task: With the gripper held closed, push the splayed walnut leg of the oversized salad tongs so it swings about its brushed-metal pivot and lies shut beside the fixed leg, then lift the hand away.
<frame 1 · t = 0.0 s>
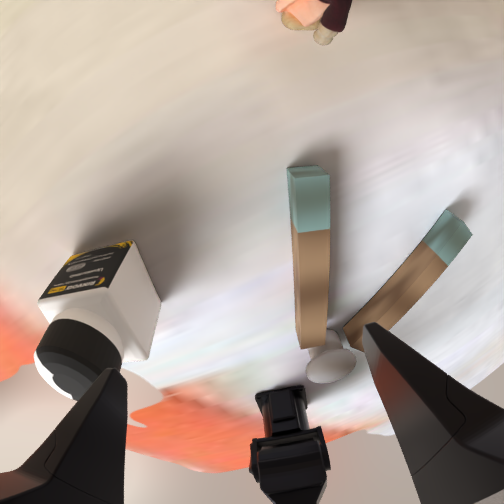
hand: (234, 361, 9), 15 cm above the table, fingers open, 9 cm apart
tong leg: (408, 285, 26), point 1 cm above the table, hinge at 40.0°
grandmother figurine: (300, 12, 15), on the table
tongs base: (322, 340, 30), on the table
medicine bottle: (116, 278, 25), on the table
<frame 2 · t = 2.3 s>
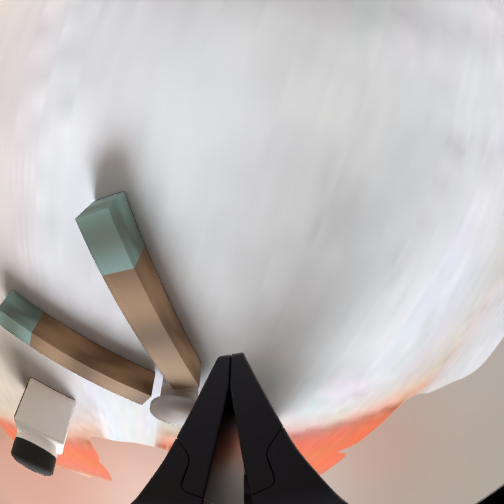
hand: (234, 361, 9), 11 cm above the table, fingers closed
tong leg: (148, 308, 20), point 1 cm above the table, hinge at 40.0°
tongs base: (180, 380, 27), on the table
medicine bottle: (52, 397, 29), on the table
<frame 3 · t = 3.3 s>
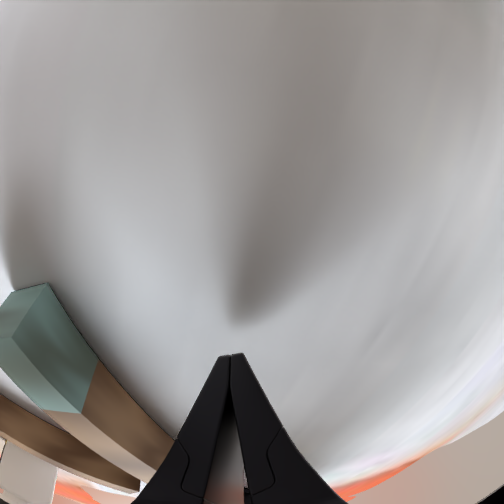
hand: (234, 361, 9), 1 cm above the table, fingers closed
tong leg: (118, 431, 11), point 2 cm above the table, hinge at 40.0°
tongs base: (174, 469, 18), on the table
medicine bottle: (34, 454, 21), on the table
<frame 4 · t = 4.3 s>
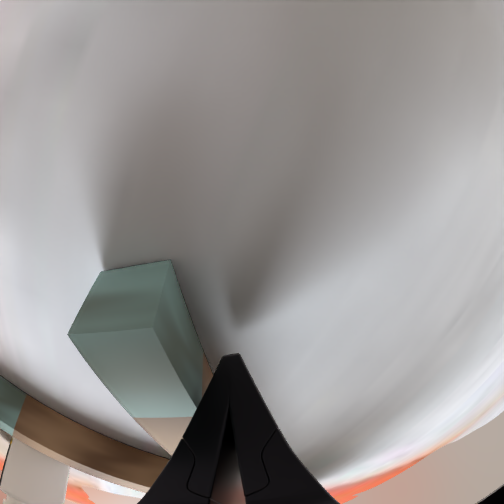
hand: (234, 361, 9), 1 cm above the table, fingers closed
tong leg: (201, 432, 11), point 1 cm above the table, hinge at 38.4°, touching gripper
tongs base: (217, 469, 18), on the table
medicine bottle: (39, 454, 19), on the table
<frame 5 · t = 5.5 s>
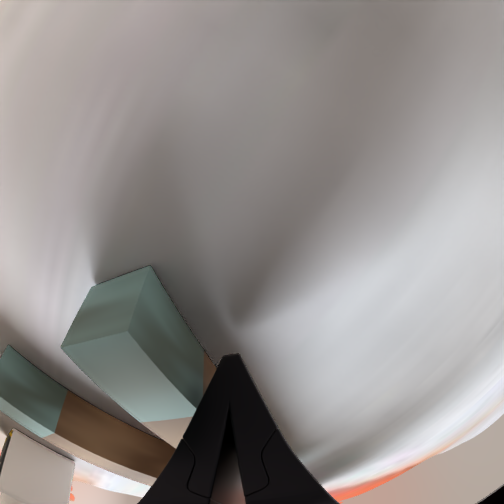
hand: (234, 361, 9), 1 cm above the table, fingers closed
tong leg: (219, 432, 11), point 2 cm above the table, hinge at 19.9°, touching gripper
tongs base: (253, 467, 18), on the table
medicine bottle: (38, 447, 18), on the table
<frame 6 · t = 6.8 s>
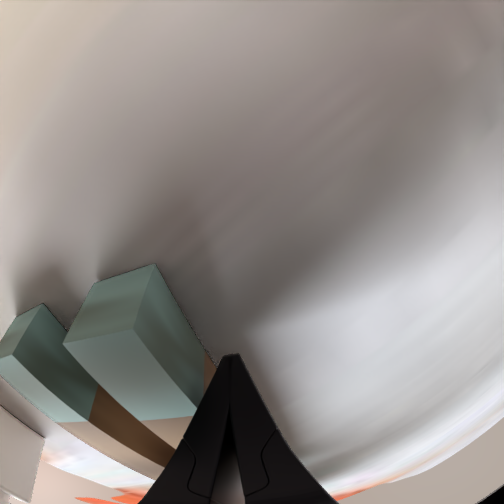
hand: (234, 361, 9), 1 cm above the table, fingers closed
tong leg: (216, 432, 11), point 1 cm above the table, hinge at 5.5°, touching gripper
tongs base: (247, 468, 18), on the table
medicine bottle: (2, 415, 15), on the table
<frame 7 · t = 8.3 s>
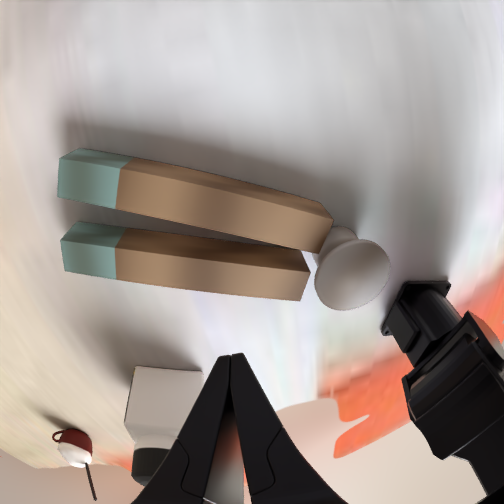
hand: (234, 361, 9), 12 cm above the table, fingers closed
tong leg: (192, 195, 17), point 2 cm above the table, hinge at 5.4°
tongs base: (335, 248, 21), on the table
cocoa: (80, 433, 36), on the table
medicine bottle: (171, 385, 29), on the table
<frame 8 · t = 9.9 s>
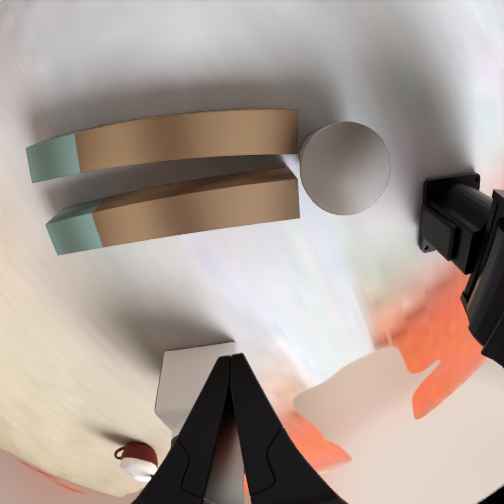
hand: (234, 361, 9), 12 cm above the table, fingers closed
tong leg: (149, 138, 15), point 2 cm above the table, hinge at 5.4°
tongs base: (326, 155, 18), on the table
cocoa: (143, 446, 39), on the table
medicine bottle: (209, 366, 28), on the table
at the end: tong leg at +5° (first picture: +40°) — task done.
